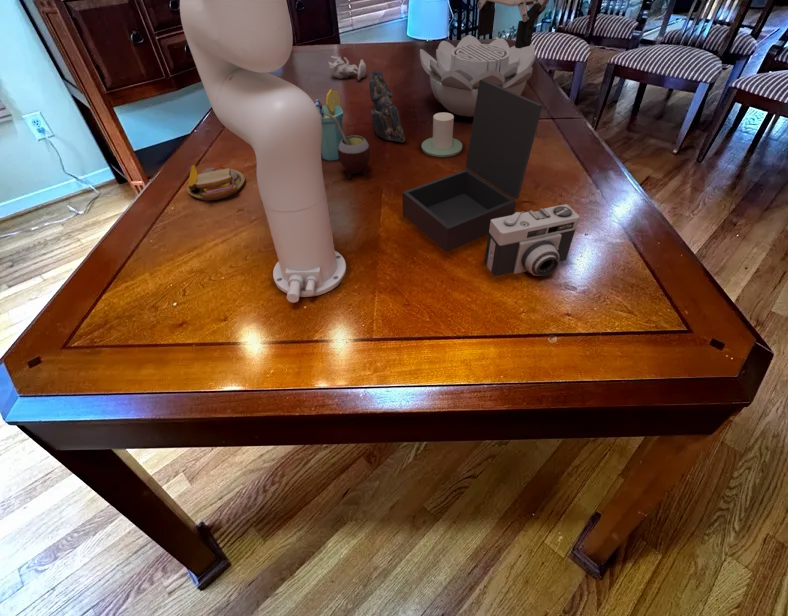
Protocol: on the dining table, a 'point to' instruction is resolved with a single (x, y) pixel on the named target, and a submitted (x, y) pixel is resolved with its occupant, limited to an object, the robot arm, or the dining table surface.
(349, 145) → the mate gourd
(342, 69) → the figurine
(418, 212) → the hinged lid box
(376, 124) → the statue
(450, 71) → the decorative bowl
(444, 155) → the saucer
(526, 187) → the dining table surface
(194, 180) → the toy sandwich meal
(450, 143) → the white cylinder
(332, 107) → the cup
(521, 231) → the camera
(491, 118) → the box lid
